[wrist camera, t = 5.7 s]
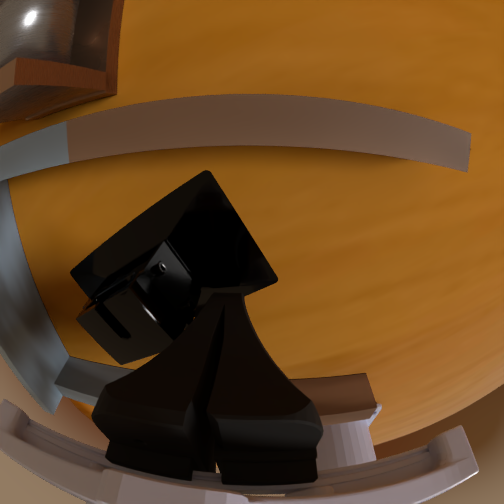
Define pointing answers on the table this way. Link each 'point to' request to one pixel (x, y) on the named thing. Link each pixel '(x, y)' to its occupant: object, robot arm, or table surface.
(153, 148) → the bay
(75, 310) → the table surface
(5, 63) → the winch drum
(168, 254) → the black holder block
